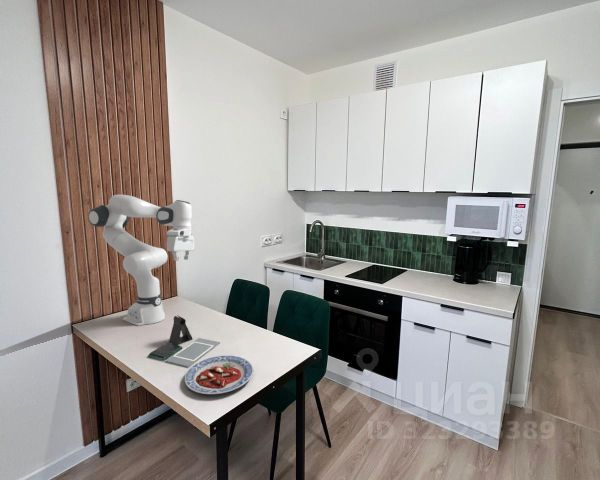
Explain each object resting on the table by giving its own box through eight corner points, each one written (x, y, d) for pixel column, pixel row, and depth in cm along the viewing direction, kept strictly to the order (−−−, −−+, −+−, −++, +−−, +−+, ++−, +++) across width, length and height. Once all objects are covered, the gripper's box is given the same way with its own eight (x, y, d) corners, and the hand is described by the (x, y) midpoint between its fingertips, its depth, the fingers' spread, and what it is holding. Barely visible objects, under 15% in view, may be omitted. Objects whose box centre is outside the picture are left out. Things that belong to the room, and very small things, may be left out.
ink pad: (148, 356, 143) (147, 353, 143) (166, 345, 153) (166, 342, 153) (164, 360, 140) (164, 357, 139) (182, 348, 150) (182, 345, 150)
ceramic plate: (219, 408, 110) (219, 400, 110) (170, 384, 124) (169, 377, 123) (266, 371, 132) (266, 364, 131) (220, 354, 145) (220, 348, 145)
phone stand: (174, 346, 152) (173, 321, 150) (168, 342, 156) (167, 318, 154) (192, 339, 159) (191, 316, 157) (186, 335, 163) (185, 312, 161)
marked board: (165, 361, 139) (165, 360, 139) (199, 339, 159) (198, 337, 159) (188, 367, 135) (188, 366, 134) (219, 343, 155) (219, 341, 155)
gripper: (187, 233, 176) (186, 258, 176) (164, 231, 156) (163, 260, 156) (198, 233, 175) (197, 259, 175) (176, 232, 155) (175, 261, 155)
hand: (181, 260), depth 165 cm, fingers open, 8 cm apart
